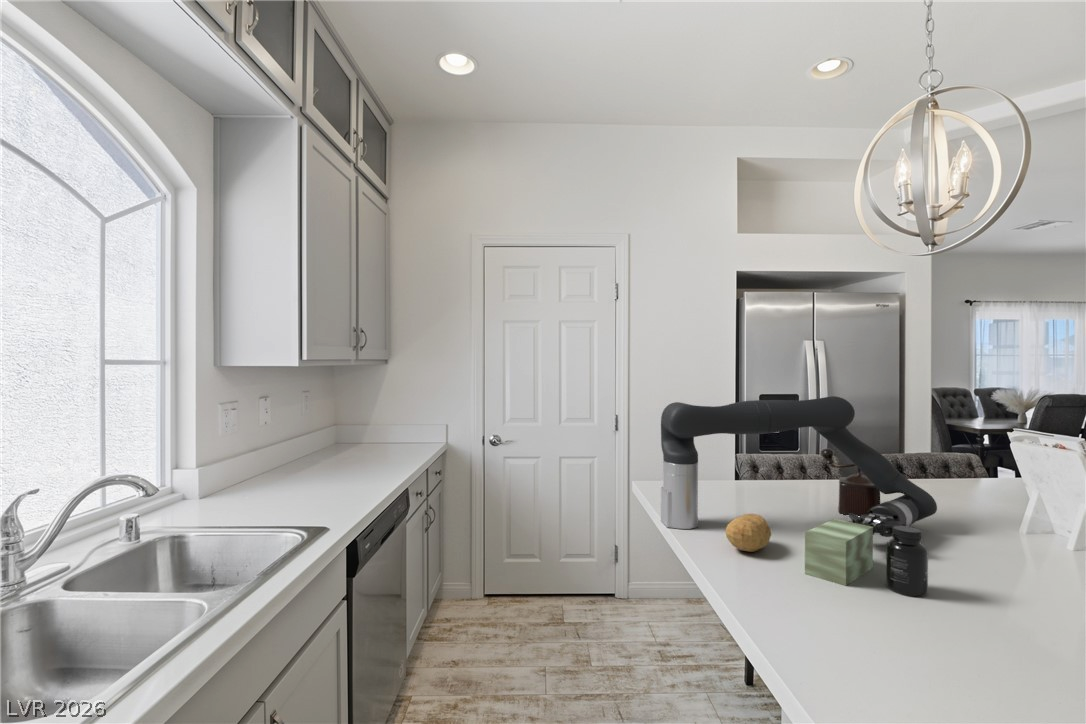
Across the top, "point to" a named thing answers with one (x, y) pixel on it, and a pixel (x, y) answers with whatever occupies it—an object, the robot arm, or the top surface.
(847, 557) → the sage-green block
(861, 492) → the wooden coffee grinder
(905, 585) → the supplement bottle
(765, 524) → the potato
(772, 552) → the top surface
